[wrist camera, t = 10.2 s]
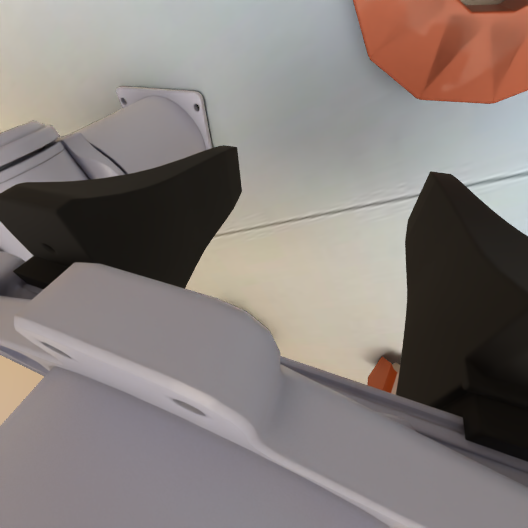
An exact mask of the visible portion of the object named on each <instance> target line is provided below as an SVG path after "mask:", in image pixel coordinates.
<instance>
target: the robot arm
mask: <svg viewBox="0 0 528 528" xmlns="http://www.w3.org/2000/svg"><path fill="white" fill-rule="evenodd" d="M116 93H117V96H118V98H119V101H120V103H121V106H122V108H123V109H120V110H118V111H116V112H114V113H112V114H110V115H108V116H106V117H104V118H102V119H100V120H98V121H96V122H94V123H91V124H89V125H87V126H85V127H83V128H81V129H79V130H77V131H75V132H73V133H71V134H69V135H66V136H63V137H60V135H59V134H58V132H57V131H56V129H55V128H54V127H53V126H51V125H46V126H45V125H44V124H43V123H40V122H37V121H30V122H28V123H25V124H22V125H20V126H17V127H15V128H12V129H9V130H7V131H4V132H2V133H0V355H2V356H4V357H6V358H8V359H10V360H12V361H14V362H16V363H19V364H20V365H22V366H24V367H26V368H29V369H31V370H33V371H35V372H37V373H39V374H41V375H43V376H45V377H44V378H43V379H42V380H41V381H40V383H39V384H38V385H37V386H36V387H35V388H34V389H33V390H32V391H31V392H30V394H29V395H28V396H27V397H26V398H25V399H24V400H23V401H22V403H21V404H20V405H19V406H18V407H17V408H16V409H15V410H14V412H13V413H12V414H11V415H10V416H9V417H8V418H7V419H6V421H4V423H3V424H2V425H1V426H0V528H528V236H526V235H525V234H523V233H522V232H520V231H519V230H517V229H516V228H514V227H513V226H512V225H510V224H509V223H508V222H506V221H505V220H504V219H503V218H501V217H500V216H499V215H497V214H496V213H495V212H494V211H493V210H491V209H490V208H489V207H488V206H487V205H486V204H484V203H483V202H482V201H481V200H480V199H479V198H478V197H477V196H475V195H474V194H473V193H472V192H471V191H470V190H469V189H468V188H467V187H466V186H465V185H464V184H462V183H461V182H460V181H459V180H458V179H457V178H455V177H454V176H453V175H451V174H445V173H437V172H430V173H429V176H428V178H427V180H426V182H425V184H424V187H423V189H422V191H421V193H420V195H419V197H418V200H417V202H416V204H415V206H414V208H413V210H412V213H411V215H410V217H409V219H408V224H407V232H406V241H405V248H406V272H407V310H406V321H405V330H404V339H403V348H402V356H401V363H400V370H399V377H398V384H397V390H396V395H395V394H392V393H389V392H386V391H383V390H380V389H377V388H374V387H371V386H368V385H365V384H362V383H359V382H356V381H353V380H350V379H347V378H344V377H341V376H338V375H335V374H332V373H329V372H326V371H323V370H320V369H317V368H314V367H311V366H308V365H306V364H303V363H300V362H297V361H294V360H291V359H288V358H285V357H282V356H280V351H279V349H278V347H277V345H276V343H275V341H274V339H273V336H272V335H271V333H270V331H269V329H268V328H266V327H265V326H264V325H263V324H261V323H260V322H259V321H258V320H256V319H255V318H254V317H253V316H252V315H250V314H249V313H248V312H247V311H244V310H242V309H240V308H238V307H235V306H233V305H231V304H229V303H227V302H224V301H222V300H220V299H218V298H214V297H211V296H208V295H204V294H201V293H197V292H194V291H191V290H187V289H185V287H186V285H187V283H188V281H189V279H190V277H191V275H192V273H193V271H194V269H195V267H196V265H197V263H198V261H199V259H200V258H201V256H202V254H203V252H204V250H205V249H206V247H207V246H208V244H209V243H210V241H211V240H212V238H213V237H214V236H215V234H216V233H217V231H218V230H219V229H220V227H221V226H222V224H223V223H224V222H225V220H226V219H227V217H228V216H229V215H230V213H231V212H232V210H233V209H234V207H235V205H236V203H237V201H238V199H239V196H240V194H241V192H242V188H241V179H240V170H239V161H238V152H237V147H232V146H224V145H223V146H218V147H214V148H212V144H211V139H210V133H209V128H208V122H207V117H206V111H205V106H204V100H203V97H202V95H201V94H200V93H199V92H197V91H186V90H171V89H156V88H142V87H127V86H120V87H117V89H116ZM124 99H125V100H126V101H125V100H124ZM196 104H198V105H199V107H200V110H199V109H198V108H197V106H196ZM58 137H59V138H58Z"/></svg>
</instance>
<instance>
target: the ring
mask: <svg viewBox="0 0 528 528" xmlns="http://www.w3.org/2000/svg"><path fill="white" fill-rule="evenodd" d="M353 2H354V6H355V10H356V13H357V17H358V21H359V24H360V28H361V32H362V35H363V39H364V43H365V46H366V50H367V53H368V56H369V57H370V60H371V61H372V62H374V63H375V64H376V65H377V66H378V67H380V68H381V69H382V70H383V71H384V72H386V73H387V74H388V75H389V76H390V77H392V78H393V79H394V80H395V81H396V82H398V83H399V84H400V85H401V86H402V87H404V88H405V89H406V90H407V91H408V92H410V93H411V94H412V95H413V96H414V97H416V98H417V99H418V98H419V99H420V100H434V101H451V102H468V103H485V104H491V103H496V102H498V101H501V100H504V99H506V98H509V97H511V96H514V95H517V94H519V93H522V92H524V91H527V90H528V0H505V1H504V2H502V3H500V4H494V5H464V4H463V3H462V2H461V1H460V0H353Z"/></svg>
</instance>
